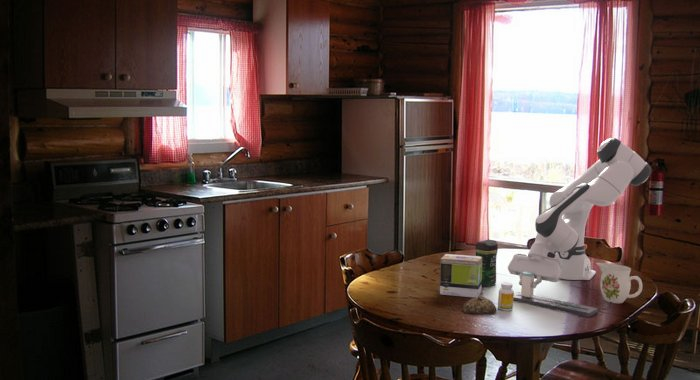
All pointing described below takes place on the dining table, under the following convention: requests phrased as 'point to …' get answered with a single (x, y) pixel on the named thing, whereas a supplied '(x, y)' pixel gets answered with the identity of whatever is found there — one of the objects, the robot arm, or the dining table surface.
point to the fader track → (556, 305)
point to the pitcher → (617, 282)
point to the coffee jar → (487, 260)
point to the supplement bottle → (505, 297)
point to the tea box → (461, 275)
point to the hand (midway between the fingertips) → (526, 285)
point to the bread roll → (479, 306)
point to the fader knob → (527, 284)
